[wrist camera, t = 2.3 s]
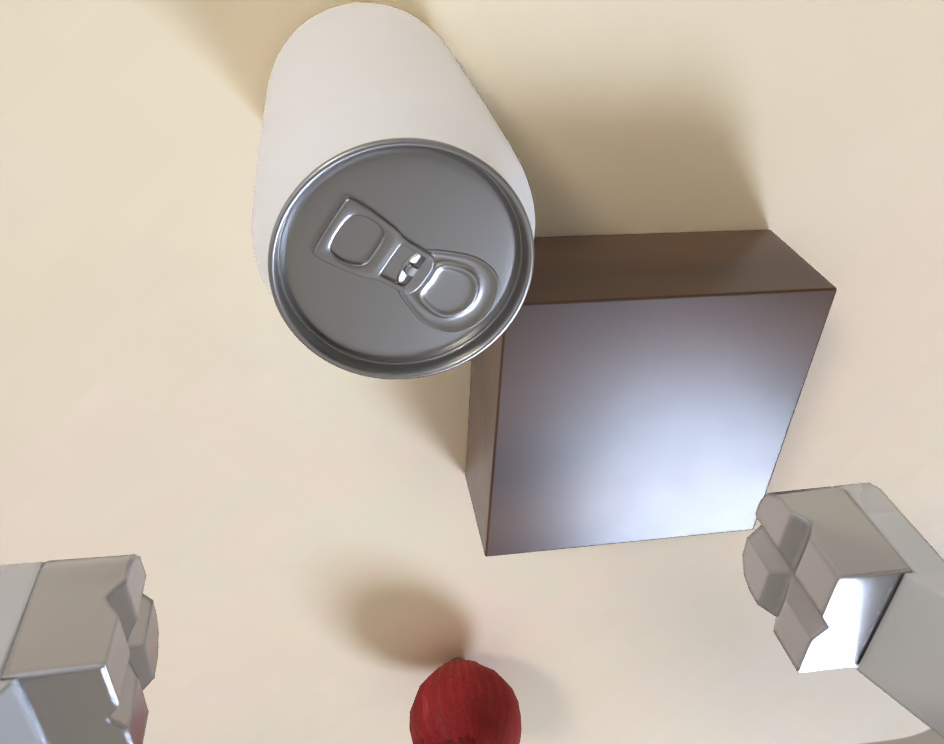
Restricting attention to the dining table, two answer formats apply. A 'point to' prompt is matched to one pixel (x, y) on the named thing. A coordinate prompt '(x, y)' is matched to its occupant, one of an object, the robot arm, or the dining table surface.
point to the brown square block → (640, 389)
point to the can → (387, 198)
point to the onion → (465, 707)
